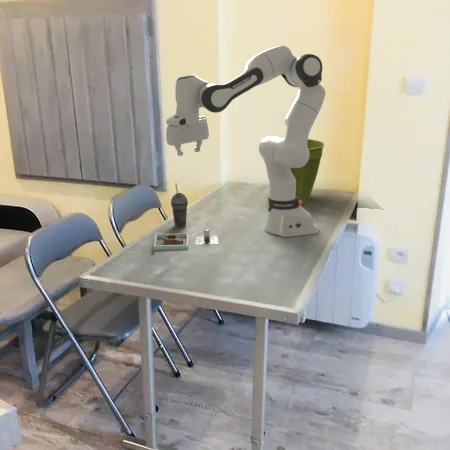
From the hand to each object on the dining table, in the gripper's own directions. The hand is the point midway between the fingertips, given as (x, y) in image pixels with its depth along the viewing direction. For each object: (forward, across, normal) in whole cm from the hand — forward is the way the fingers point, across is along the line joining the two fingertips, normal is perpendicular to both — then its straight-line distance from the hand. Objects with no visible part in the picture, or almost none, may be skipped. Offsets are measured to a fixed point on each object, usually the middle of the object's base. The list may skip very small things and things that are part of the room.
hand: (189, 153), depth 208 cm
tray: (+34, +14, +3) cm, 37 cm away
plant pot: (+34, -67, +3) cm, 76 cm away
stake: (+34, +3, +11) cm, 36 cm away
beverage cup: (+34, -2, -9) cm, 36 cm away
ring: (+34, +14, +4) cm, 37 cm away
